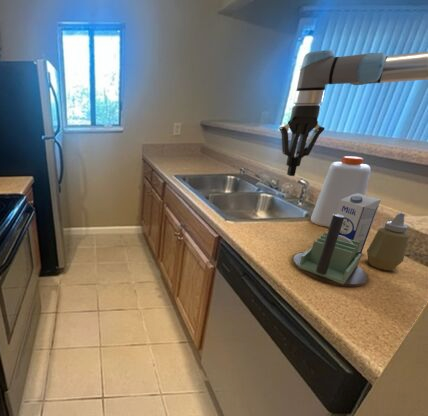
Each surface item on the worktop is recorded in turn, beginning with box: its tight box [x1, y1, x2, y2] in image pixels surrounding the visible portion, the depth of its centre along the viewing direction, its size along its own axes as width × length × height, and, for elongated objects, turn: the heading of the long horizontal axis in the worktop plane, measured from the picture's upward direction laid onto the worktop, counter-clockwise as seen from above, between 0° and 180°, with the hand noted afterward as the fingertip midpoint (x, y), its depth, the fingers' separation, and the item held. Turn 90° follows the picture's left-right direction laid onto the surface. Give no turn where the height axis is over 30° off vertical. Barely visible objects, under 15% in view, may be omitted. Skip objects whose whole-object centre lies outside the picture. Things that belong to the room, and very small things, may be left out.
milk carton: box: [337, 193, 382, 256], centre depth 92 cm, size 7×7×20 cm
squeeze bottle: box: [366, 211, 410, 271], centre depth 83 cm, size 8×8×18 cm
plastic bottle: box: [310, 155, 372, 228], centre depth 111 cm, size 15×15×28 cm
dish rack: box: [298, 214, 363, 284], centre depth 81 cm, size 17×11×19 cm, turn 128°
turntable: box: [292, 251, 368, 288], centre depth 85 cm, size 18×18×1 cm
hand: (290, 174), depth 98 cm, fingers closed
